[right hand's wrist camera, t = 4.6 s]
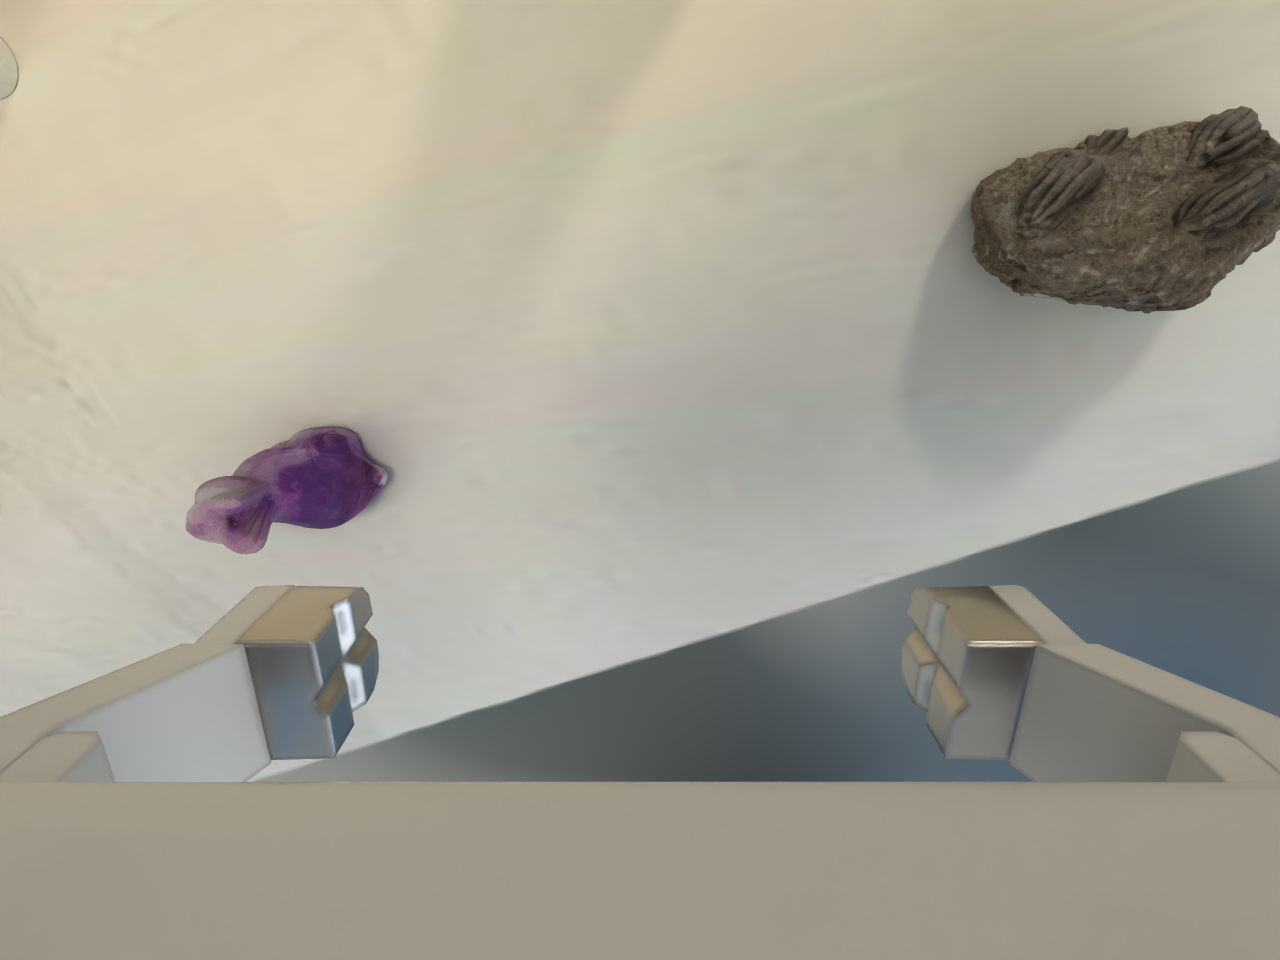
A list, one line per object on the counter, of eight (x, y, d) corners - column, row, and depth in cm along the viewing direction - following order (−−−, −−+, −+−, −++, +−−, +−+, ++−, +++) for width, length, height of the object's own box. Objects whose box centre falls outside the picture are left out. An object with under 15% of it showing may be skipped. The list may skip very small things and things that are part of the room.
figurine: (244, 472, 60) (123, 546, 46) (315, 394, 58) (210, 447, 44) (329, 542, 62) (239, 633, 48) (401, 470, 60) (328, 544, 46)
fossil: (1313, 56, 46) (1413, 243, 41) (1227, 162, 55) (1300, 326, 50) (967, 129, 49) (1020, 308, 44) (939, 218, 58) (981, 374, 53)
